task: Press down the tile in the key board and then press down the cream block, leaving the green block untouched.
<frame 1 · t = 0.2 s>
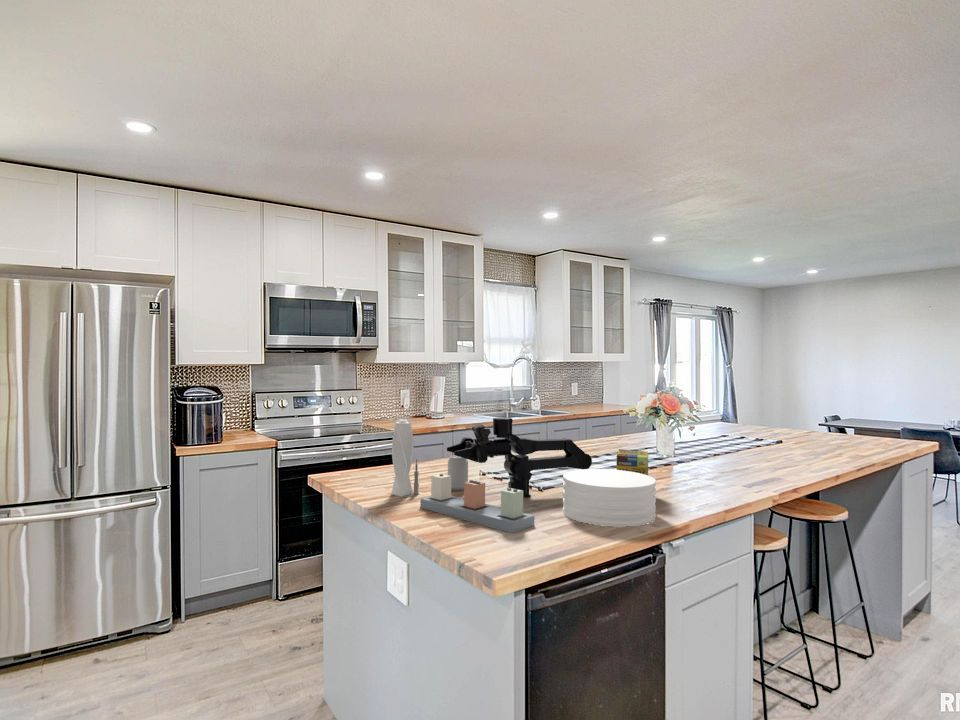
hand: (450, 451, 183), 17 cm above the countertop, tool horizontal, fingers open, 9 cm apart
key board: (474, 515, 164), on the countertop
green block 2: (512, 502, 155), point 7 cm above the countertop, slide at 0.0 cm
plate stack: (608, 515, 169), on the countertop
skyscraper: (403, 496, 190), on the countertop
can: (457, 489, 200), on the countertop
protein box: (632, 497, 191), on the countertop
cream block 1: (441, 486, 174), point 7 cm above the countertop, slide at 0.0 cm
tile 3: (474, 493, 164), point 7 cm above the countertop, slide at 0.0 cm
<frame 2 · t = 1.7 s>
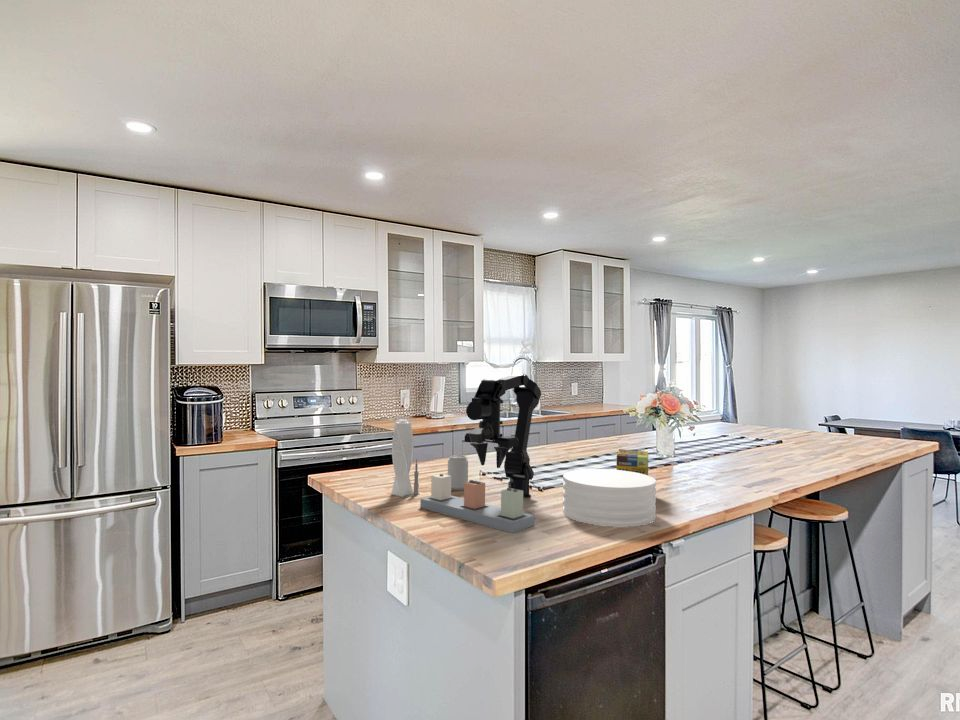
hand: (490, 466, 175), 13 cm above the countertop, tool pointing down, fingers open, 6 cm apart
nothing on the countertop moved.
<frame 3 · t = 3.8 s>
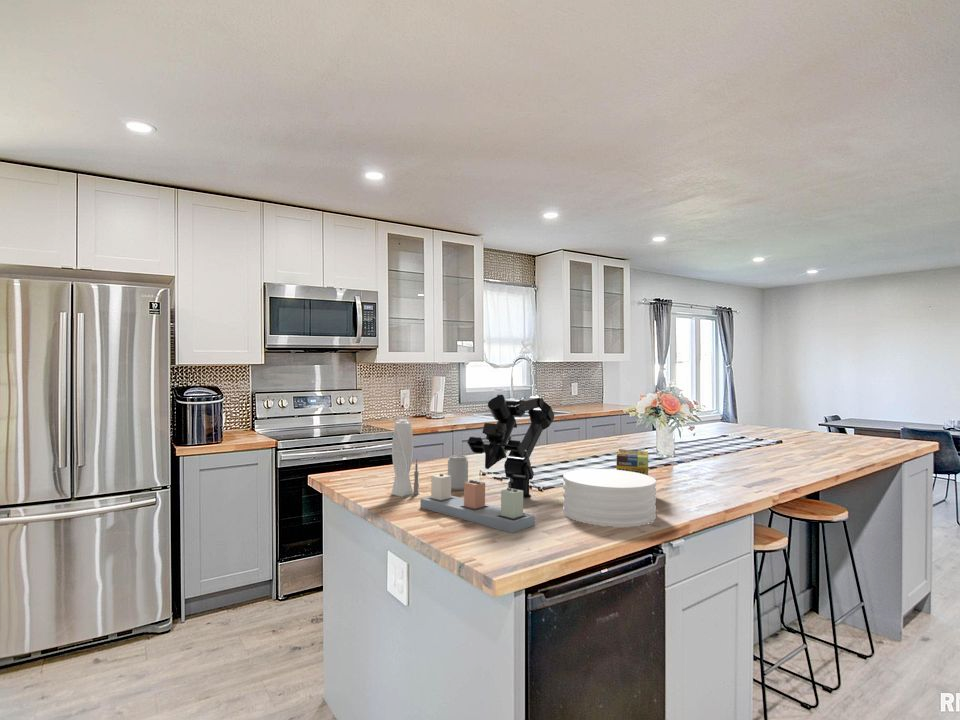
hand: (486, 468, 170), 13 cm above the countertop, tool tilted 45°, fingers closed
nothing on the countertop moved.
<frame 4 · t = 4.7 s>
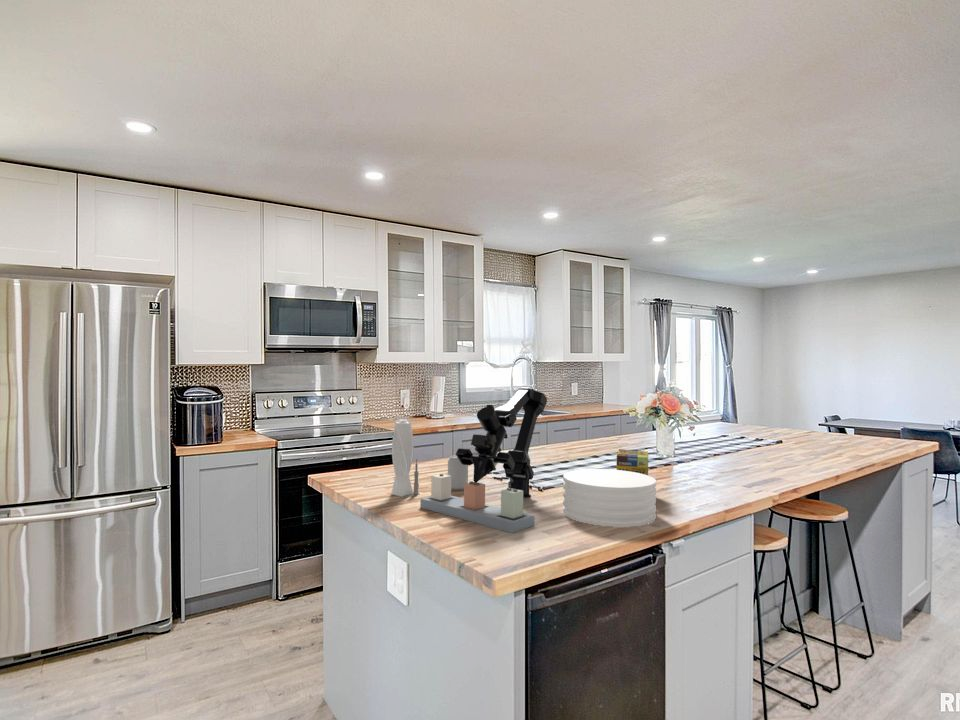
hand: (475, 481, 164), 10 cm above the countertop, tool tilted 45°, fingers closed, pressing on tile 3
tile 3: (474, 494, 164), point 6 cm above the countertop, slide at 0.4 cm, touching gripper
everything else where it was.
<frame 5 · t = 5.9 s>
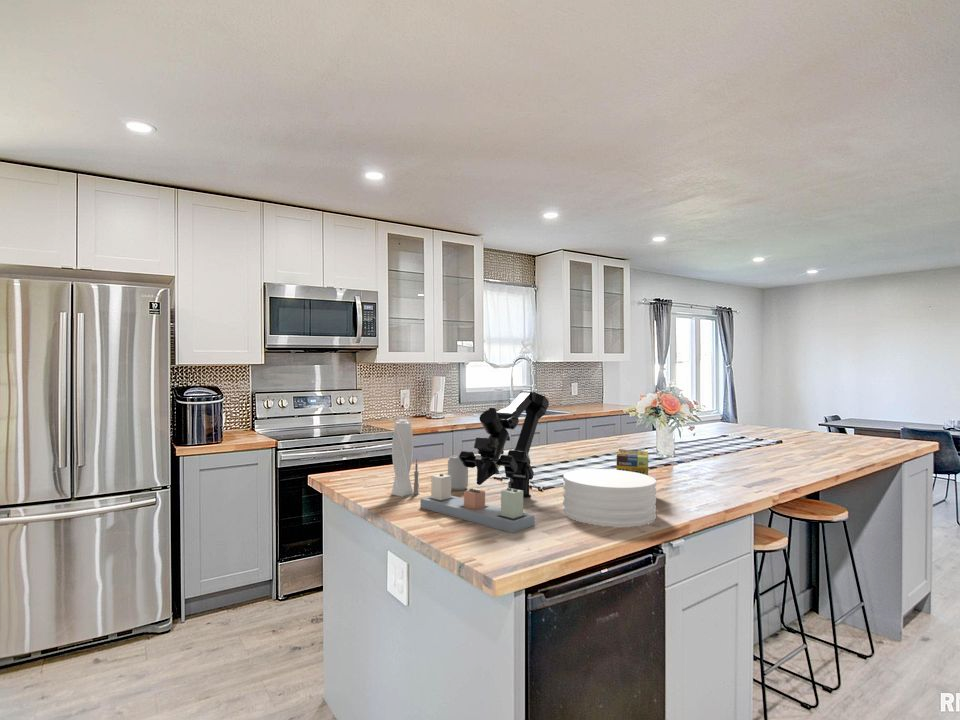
hand: (478, 484, 166), 9 cm above the countertop, tool tilted 45°, fingers closed
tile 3: (474, 502, 164), point 4 cm above the countertop, slide at 2.6 cm
everything else where it was.
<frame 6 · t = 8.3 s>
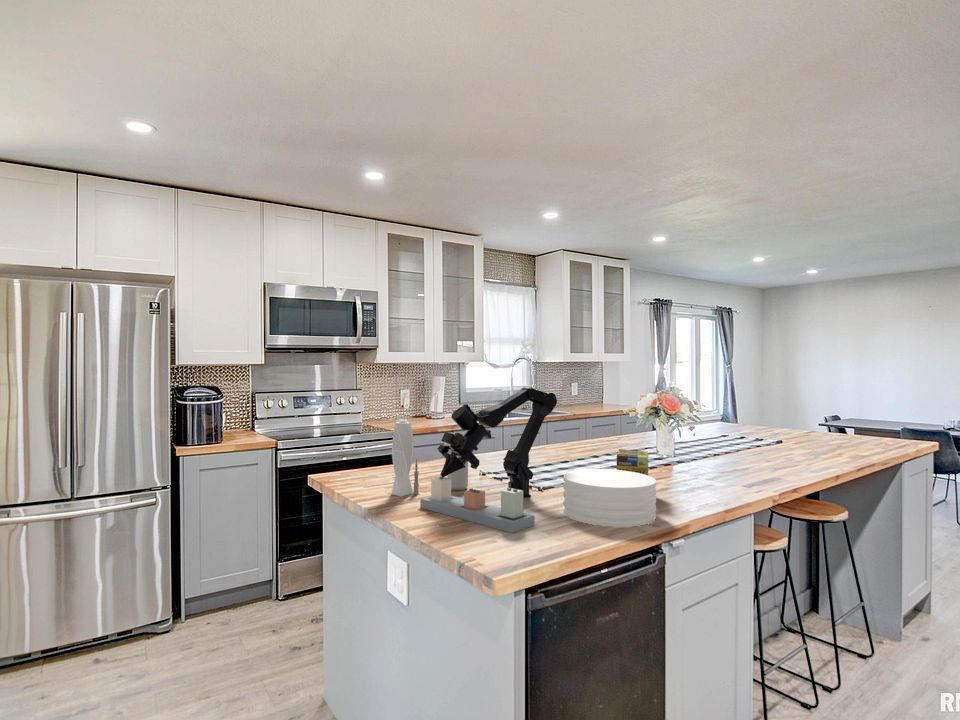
hand: (441, 476, 174), 10 cm above the countertop, tool tilted 45°, fingers closed, pressing on cream block 1
cream block 1: (441, 488, 174), point 6 cm above the countertop, slide at 0.9 cm, touching gripper
everything else where it was.
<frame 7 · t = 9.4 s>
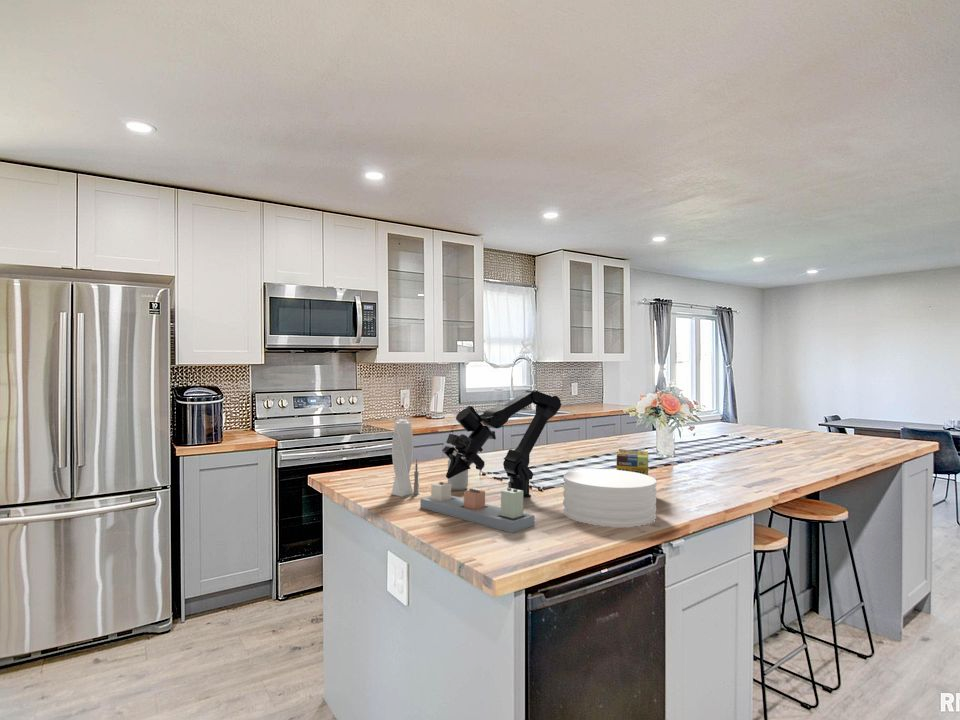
hand: (447, 477, 175), 9 cm above the countertop, tool tilted 45°, fingers closed
cream block 1: (441, 494, 174), point 4 cm above the countertop, slide at 2.6 cm
everything else where it was.
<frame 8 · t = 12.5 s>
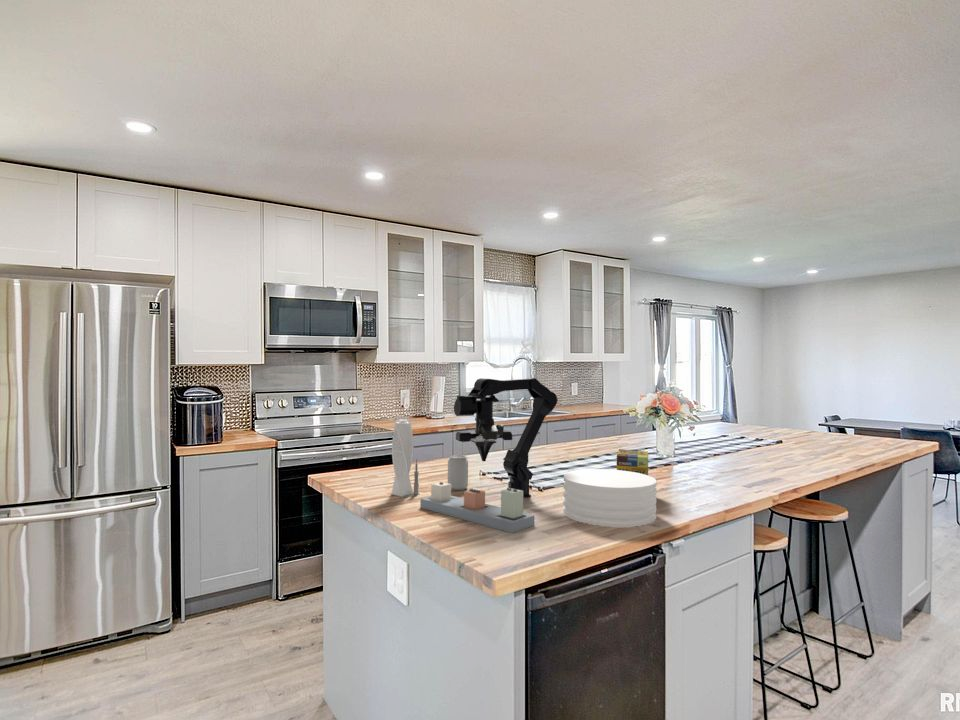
hand: (483, 461, 185), 13 cm above the countertop, tool pointing down, fingers closed
nothing on the countertop moved.
at the end: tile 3 slide at 2.6 cm; cream block 1 slide at 2.6 cm; green block 2 slide at 0.0 cm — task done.
